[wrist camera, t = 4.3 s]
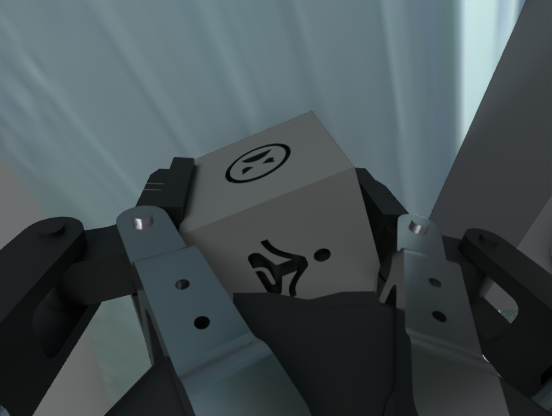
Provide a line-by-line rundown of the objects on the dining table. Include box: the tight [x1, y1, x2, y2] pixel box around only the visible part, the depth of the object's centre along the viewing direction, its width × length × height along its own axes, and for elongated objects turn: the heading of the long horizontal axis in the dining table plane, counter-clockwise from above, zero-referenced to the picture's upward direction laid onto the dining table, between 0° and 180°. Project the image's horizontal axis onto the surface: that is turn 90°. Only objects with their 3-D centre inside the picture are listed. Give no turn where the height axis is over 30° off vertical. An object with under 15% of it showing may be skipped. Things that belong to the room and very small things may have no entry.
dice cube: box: [178, 111, 380, 302], centre depth 12 cm, size 5×5×5 cm
